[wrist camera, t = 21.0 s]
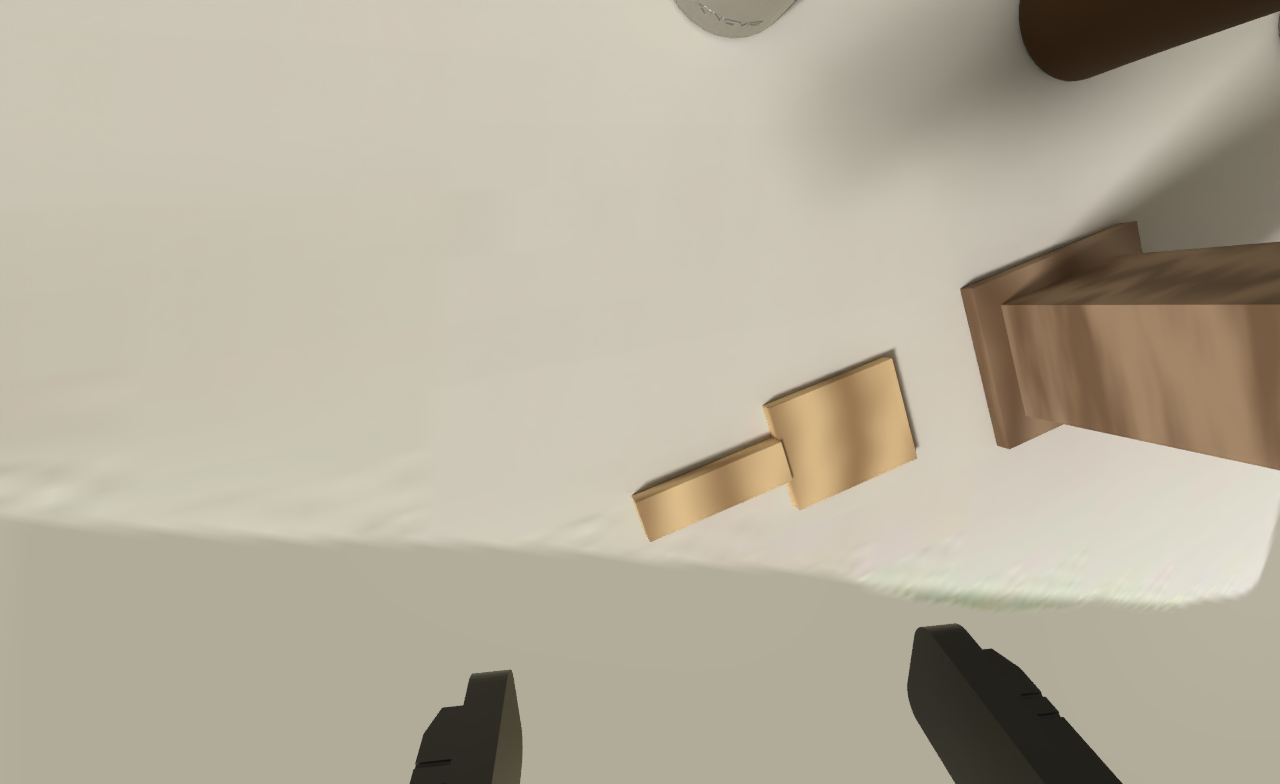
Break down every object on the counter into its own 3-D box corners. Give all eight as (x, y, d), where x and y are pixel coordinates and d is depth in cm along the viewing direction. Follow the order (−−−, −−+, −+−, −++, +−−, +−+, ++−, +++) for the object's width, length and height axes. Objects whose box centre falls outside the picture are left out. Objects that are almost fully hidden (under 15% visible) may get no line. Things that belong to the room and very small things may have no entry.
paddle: (656, 564, 42) (661, 573, 41) (619, 463, 41) (623, 469, 39) (906, 454, 46) (920, 459, 44) (881, 357, 44) (894, 358, 43)
